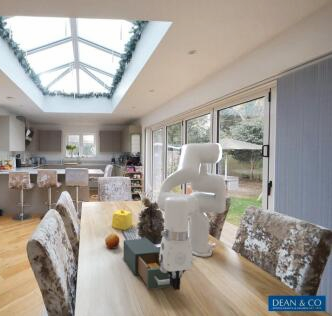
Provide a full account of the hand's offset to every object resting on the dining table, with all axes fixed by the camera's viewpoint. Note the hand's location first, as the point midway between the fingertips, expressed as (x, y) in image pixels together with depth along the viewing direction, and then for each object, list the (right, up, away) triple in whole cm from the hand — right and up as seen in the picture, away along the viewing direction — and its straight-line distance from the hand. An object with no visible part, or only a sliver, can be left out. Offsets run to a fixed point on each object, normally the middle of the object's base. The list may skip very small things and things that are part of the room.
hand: (174, 287), depth 70 cm
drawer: (-2, -5, +13) cm, 14 cm away
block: (-3, -4, +15) cm, 15 cm away
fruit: (-17, -6, +45) cm, 49 cm away
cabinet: (-5, -6, +26) cm, 28 cm away
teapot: (-8, -5, +78) cm, 78 cm away
